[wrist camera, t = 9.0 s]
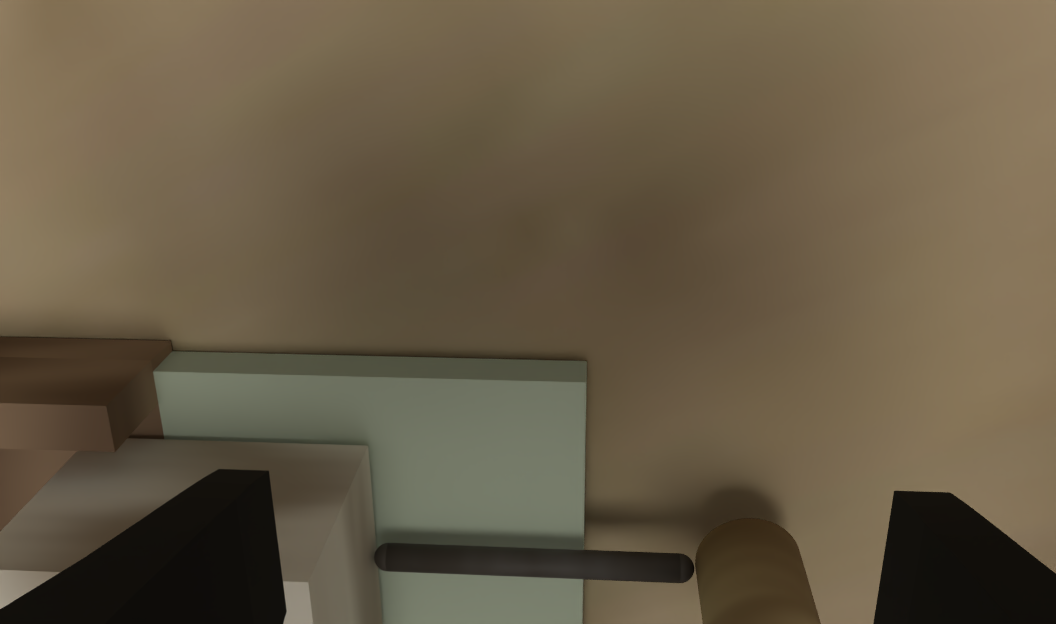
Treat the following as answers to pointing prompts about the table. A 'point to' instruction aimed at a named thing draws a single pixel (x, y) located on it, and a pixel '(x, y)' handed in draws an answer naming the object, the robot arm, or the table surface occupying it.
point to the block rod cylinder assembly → (367, 535)
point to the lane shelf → (70, 406)
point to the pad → (420, 458)
